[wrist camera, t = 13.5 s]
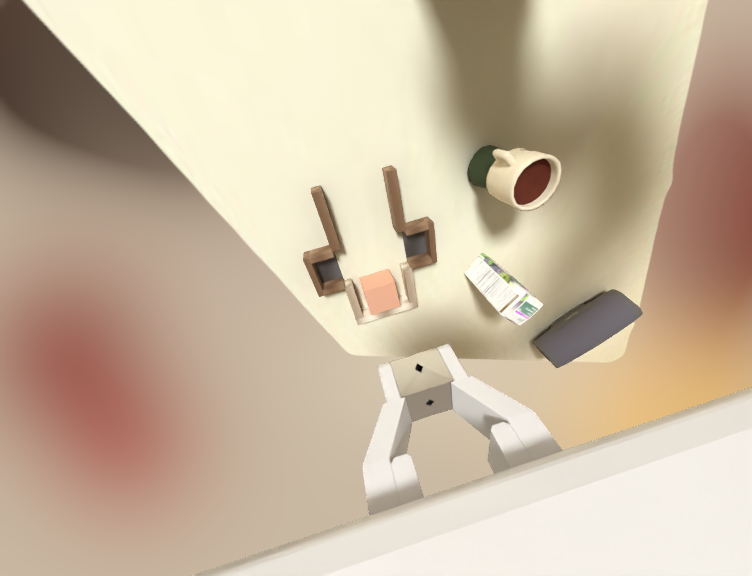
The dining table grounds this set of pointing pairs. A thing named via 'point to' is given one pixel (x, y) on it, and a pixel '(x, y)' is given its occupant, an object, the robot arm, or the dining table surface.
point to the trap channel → (417, 253)
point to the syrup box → (502, 290)
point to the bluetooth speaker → (587, 327)
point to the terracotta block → (380, 291)
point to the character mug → (516, 175)
